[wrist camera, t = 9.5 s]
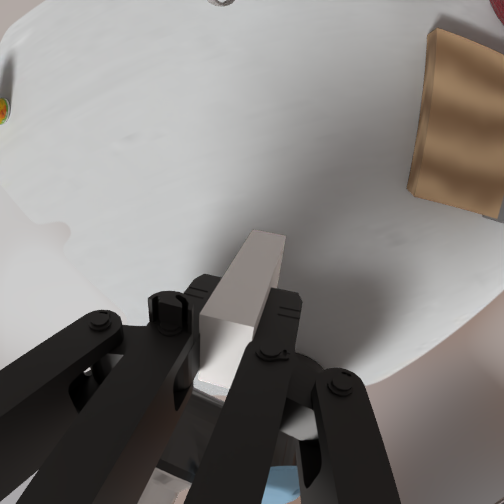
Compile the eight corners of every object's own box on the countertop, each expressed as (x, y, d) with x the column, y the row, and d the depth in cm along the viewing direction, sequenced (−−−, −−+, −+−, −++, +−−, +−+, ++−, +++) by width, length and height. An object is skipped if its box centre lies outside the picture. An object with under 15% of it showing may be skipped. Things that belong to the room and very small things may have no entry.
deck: (484, 209, 34) (497, 219, 30) (406, 188, 36) (414, 196, 32) (507, 66, 25) (522, 64, 22) (427, 35, 27) (437, 27, 23)
